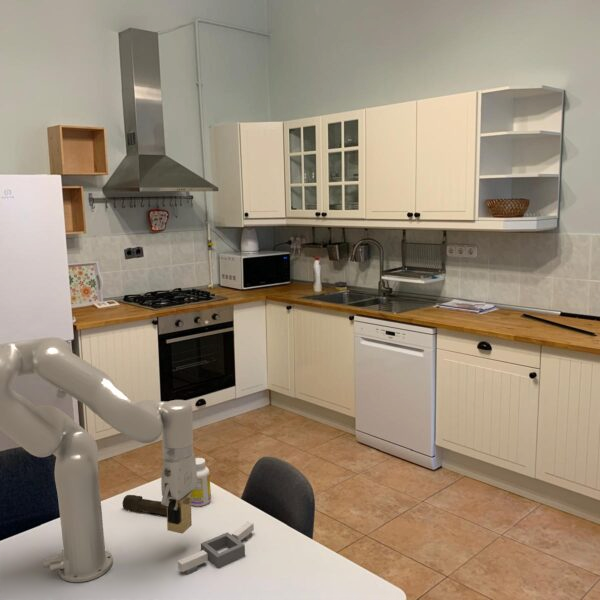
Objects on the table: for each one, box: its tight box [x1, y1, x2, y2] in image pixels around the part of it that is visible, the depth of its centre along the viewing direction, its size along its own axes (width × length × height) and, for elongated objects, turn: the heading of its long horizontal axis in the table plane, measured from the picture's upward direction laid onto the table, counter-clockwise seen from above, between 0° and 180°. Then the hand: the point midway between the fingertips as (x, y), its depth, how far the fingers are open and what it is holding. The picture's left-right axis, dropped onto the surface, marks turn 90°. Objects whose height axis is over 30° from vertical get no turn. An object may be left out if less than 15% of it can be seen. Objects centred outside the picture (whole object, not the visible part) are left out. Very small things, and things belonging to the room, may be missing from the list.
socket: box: [177, 521, 255, 575], centre depth 159 cm, size 9×24×3 cm, turn 129°
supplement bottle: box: [191, 457, 212, 507], centre depth 186 cm, size 7×7×13 cm
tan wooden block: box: [166, 492, 193, 535], centre depth 160 cm, size 4×6×9 cm
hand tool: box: [122, 494, 167, 516], centre depth 181 cm, size 19×4×5 cm, turn 71°
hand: (179, 517), depth 160 cm, fingers closed on tan wooden block, 4 cm apart
